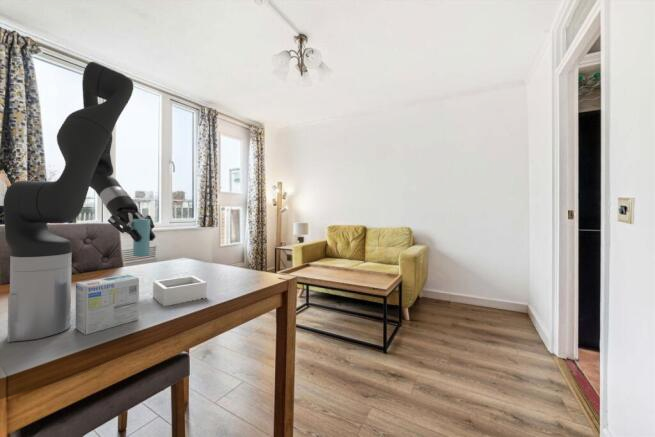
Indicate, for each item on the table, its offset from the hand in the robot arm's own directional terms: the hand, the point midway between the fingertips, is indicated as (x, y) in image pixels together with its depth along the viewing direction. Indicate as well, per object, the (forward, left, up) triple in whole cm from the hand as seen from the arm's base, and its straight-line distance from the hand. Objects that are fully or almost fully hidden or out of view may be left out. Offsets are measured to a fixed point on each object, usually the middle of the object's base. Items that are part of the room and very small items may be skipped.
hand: (146, 239), depth 88 cm
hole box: (+7, -11, -18) cm, 22 cm away
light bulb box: (-12, -22, -18) cm, 31 cm away
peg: (-1, +2, -5) cm, 6 cm away
